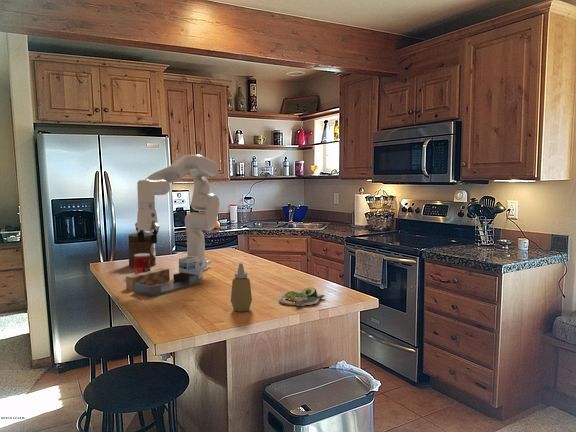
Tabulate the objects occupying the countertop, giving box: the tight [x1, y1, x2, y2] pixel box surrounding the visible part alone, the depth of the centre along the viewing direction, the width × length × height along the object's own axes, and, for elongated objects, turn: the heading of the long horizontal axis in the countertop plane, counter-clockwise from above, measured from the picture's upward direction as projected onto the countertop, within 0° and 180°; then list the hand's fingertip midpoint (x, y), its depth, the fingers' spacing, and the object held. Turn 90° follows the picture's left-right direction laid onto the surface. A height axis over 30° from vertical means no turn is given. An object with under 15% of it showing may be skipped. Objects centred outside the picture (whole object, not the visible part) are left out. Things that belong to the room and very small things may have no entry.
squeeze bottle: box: [230, 262, 253, 313], centre depth 162 cm, size 8×8×18 cm
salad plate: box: [277, 286, 326, 307], centre depth 174 cm, size 19×18×5 cm
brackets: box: [133, 272, 200, 298], centre depth 195 cm, size 27×12×4 cm, turn 144°
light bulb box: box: [178, 255, 204, 279], centre depth 215 cm, size 11×7×11 cm, turn 148°
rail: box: [125, 267, 171, 291], centre depth 203 cm, size 22×4×6 cm, turn 149°
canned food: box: [134, 253, 151, 275], centre depth 222 cm, size 8×8×11 cm
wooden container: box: [127, 231, 157, 269], centre depth 248 cm, size 15×15×22 cm
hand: (147, 242), depth 201 cm, fingers open, 9 cm apart
